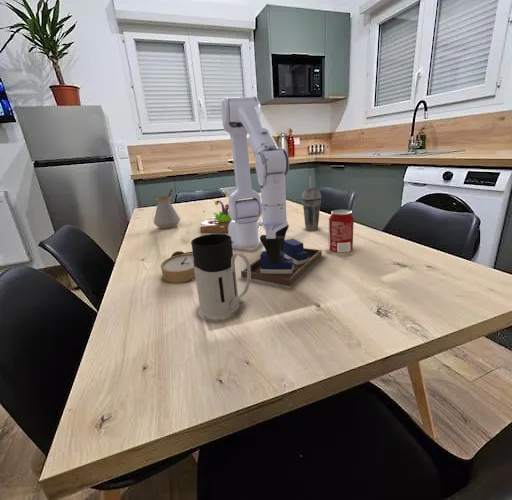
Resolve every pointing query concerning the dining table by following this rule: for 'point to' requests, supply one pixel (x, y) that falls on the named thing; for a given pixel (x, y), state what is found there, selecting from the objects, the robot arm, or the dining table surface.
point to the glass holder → (217, 275)
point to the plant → (217, 221)
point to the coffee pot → (166, 213)
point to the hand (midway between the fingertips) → (276, 257)
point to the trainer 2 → (295, 251)
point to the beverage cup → (311, 207)
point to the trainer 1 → (276, 265)
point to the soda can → (341, 231)
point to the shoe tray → (283, 278)
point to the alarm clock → (178, 267)
